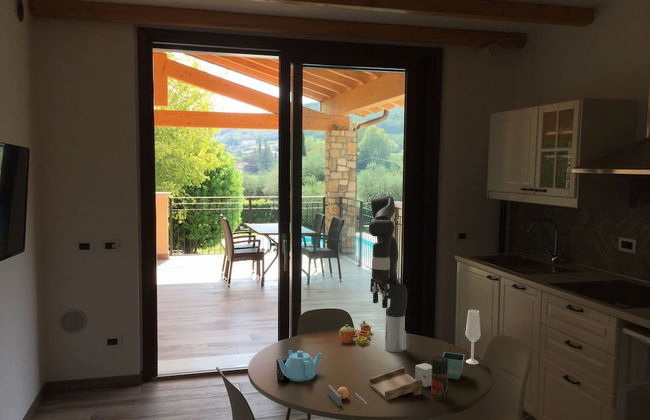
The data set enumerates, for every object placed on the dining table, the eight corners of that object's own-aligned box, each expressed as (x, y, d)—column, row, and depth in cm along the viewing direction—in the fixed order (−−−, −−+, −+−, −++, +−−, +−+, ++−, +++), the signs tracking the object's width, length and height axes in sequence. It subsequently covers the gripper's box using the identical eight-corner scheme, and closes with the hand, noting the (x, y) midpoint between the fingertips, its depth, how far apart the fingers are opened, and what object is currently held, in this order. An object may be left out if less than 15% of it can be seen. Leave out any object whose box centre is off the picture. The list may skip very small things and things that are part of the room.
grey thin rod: (351, 388, 201) (351, 387, 201) (368, 403, 187) (368, 403, 187) (349, 388, 201) (349, 388, 201) (365, 404, 187) (365, 403, 187)
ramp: (403, 381, 209) (404, 366, 209) (422, 394, 196) (422, 379, 196) (368, 386, 203) (369, 371, 203) (385, 400, 190) (385, 385, 190)
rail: (330, 393, 196) (330, 384, 195) (341, 405, 185) (341, 396, 185) (327, 394, 195) (327, 385, 195) (338, 406, 185) (338, 396, 185)
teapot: (275, 380, 208) (275, 355, 207) (288, 368, 222) (288, 344, 221) (310, 385, 203) (311, 359, 203) (321, 372, 218) (322, 347, 217)
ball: (341, 398, 194) (333, 392, 192) (347, 388, 195) (339, 382, 193) (345, 403, 190) (337, 397, 188) (352, 393, 191) (344, 387, 189)
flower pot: (464, 374, 217) (464, 354, 217) (462, 382, 209) (463, 361, 208) (443, 371, 220) (443, 351, 219) (441, 379, 212) (441, 358, 211)
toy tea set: (367, 348, 250) (368, 329, 250) (337, 345, 254) (337, 326, 253) (374, 333, 276) (374, 315, 275) (346, 330, 279) (346, 313, 279)
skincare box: (414, 382, 208) (414, 365, 207) (424, 379, 211) (424, 362, 211) (425, 387, 203) (426, 369, 202) (435, 384, 206) (436, 366, 206)
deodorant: (429, 393, 197) (430, 356, 196) (444, 393, 197) (445, 355, 197) (433, 400, 191) (434, 361, 190) (449, 400, 192) (450, 361, 191)
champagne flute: (463, 364, 230) (465, 312, 228) (465, 359, 236) (466, 308, 234) (479, 366, 227) (480, 313, 226) (480, 361, 233) (482, 310, 232)
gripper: (365, 265, 218) (364, 302, 219) (380, 270, 204) (380, 310, 205) (381, 264, 220) (380, 301, 221) (397, 269, 207) (396, 308, 208)
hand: (380, 305), depth 213 cm, fingers open, 8 cm apart
